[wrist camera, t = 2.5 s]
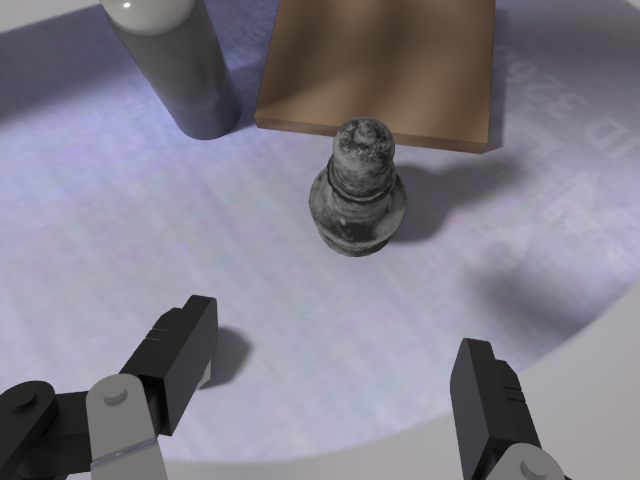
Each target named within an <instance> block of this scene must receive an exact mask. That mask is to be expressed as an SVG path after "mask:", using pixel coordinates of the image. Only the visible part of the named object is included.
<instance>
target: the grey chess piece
mask: <svg viewBox="0 0 640 480" xmlns="http://www.w3.org/2000/svg"><path fill="white" fill-rule="evenodd" d="M394 153H395V143H394V139H393V135H392V133H391V131H390V130H389V128H388V127H387V126H386V125H385V124H384V123H382V122H380V121H379V120H377V119H374V118H371V117H356V118H353V119H350V120H348V121H346V122H345V123H344V124H343V125H341V127H340V128H339V129H338V131H337V133H336V135H335V138H334V141H333V154H332V156H331V157H330V159H329V162H328V164H327V167H325V168H324V169H323V170H322V171H321V172H320V173H319V175H318V176H317V177H316V179H315V180H314V183H313V185H312V188H311V190H310V197H309V206H310V211H311V216H312V218H313V220H314V222H315V224H316V226H317V227H318V231H319V233H320V235H321V237H322V239H323V240H324V242H325V243H326V244H327V245H328V246H329V247H330V248H331V249H333V250H334V251H336V252H337V253H340V254H343V255H346V256H351V257H361V256H367V255H370V254H372V253H374V252H376V251H378V250H379V249H381V248H382V247H383V246H384V245H385V244H386V243H387V242H388V240H389V239H390V237H391V235H392V234H393V233H395V232H396V230H397V229H398V227H399V226H400V224H401V223H402V221H403V219H404V216H405V213H406V210H407V195H406V191H405V187H404V185H403V183H402V181H401V179H400V178H399V176H398V175H397V174H396V170H395V166H394V162H393V157H394Z"/></svg>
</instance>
